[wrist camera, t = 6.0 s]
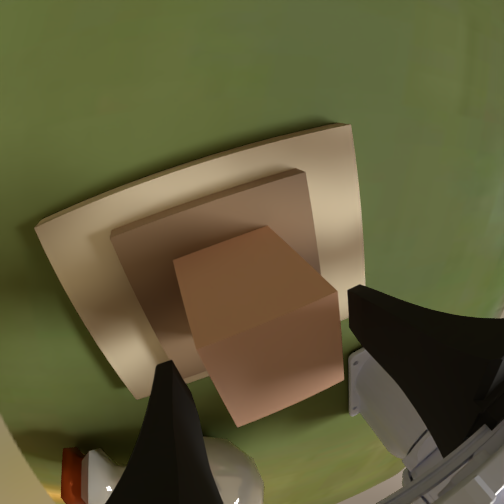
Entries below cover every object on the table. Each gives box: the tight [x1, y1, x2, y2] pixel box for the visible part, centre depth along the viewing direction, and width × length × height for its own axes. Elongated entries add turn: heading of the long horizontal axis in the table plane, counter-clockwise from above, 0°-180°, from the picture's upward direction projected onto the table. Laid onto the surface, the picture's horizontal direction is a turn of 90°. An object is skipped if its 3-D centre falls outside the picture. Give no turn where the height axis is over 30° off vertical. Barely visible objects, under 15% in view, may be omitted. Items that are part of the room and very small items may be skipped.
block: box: [173, 226, 344, 427], centre depth 13 cm, size 4×4×6 cm
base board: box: [34, 123, 365, 400], centre depth 17 cm, size 12×16×2 cm
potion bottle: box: [61, 436, 264, 504], centre depth 19 cm, size 9×10×15 cm
